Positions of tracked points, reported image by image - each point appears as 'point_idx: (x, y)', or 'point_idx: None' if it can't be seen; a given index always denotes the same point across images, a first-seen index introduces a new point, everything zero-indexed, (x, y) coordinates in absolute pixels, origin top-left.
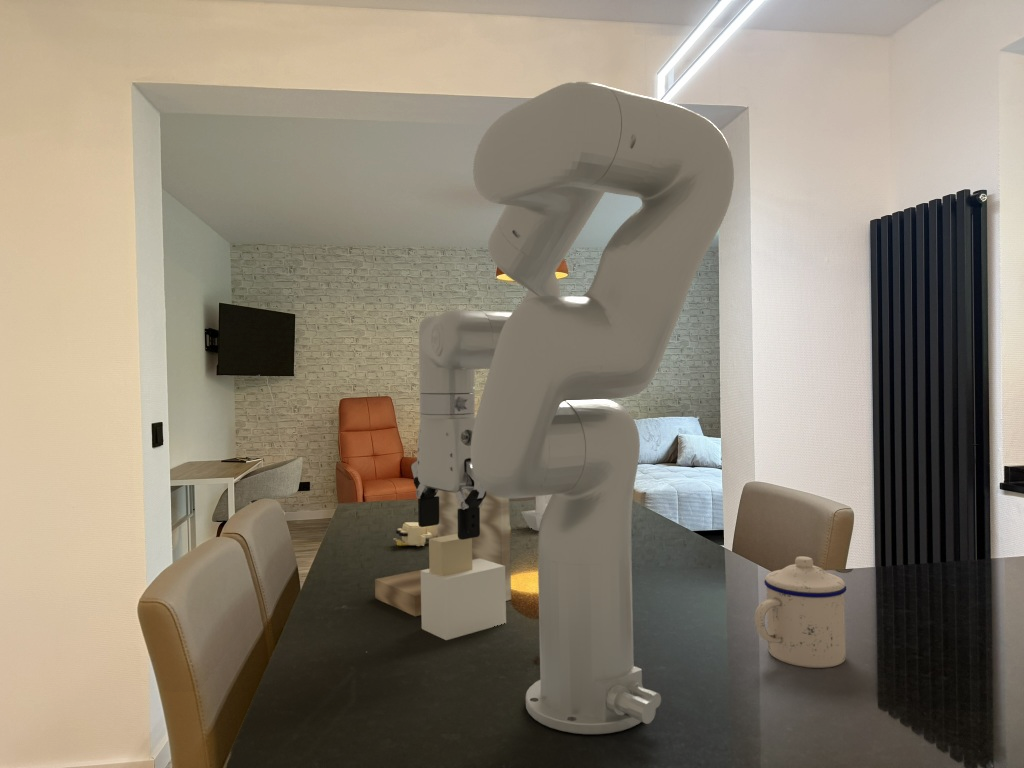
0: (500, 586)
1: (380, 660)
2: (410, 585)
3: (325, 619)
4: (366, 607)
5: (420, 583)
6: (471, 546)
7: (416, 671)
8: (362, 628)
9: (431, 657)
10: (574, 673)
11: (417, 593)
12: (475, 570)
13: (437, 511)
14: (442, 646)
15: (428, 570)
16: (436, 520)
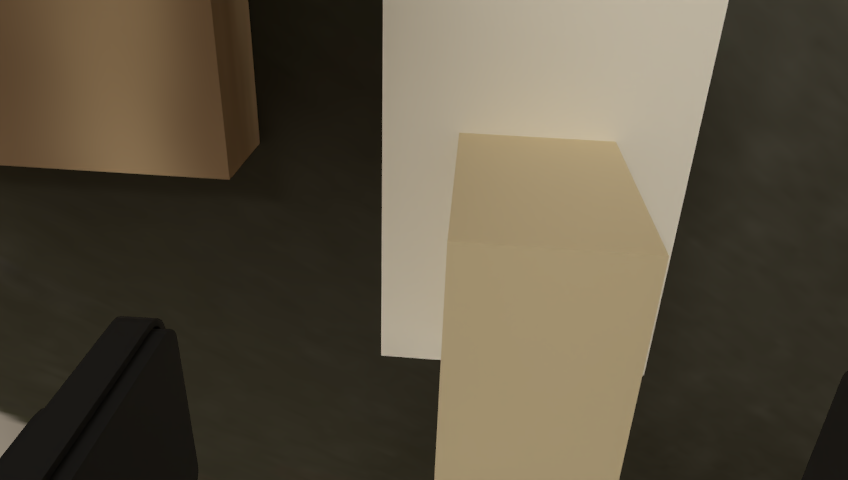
0: None
1: None
2: (38, 89)
3: None
4: (19, 213)
5: (27, 25)
6: (650, 220)
7: (733, 428)
8: (260, 344)
9: (685, 345)
10: None
11: (201, 148)
12: (651, 142)
13: (118, 434)
14: None
15: (413, 328)
16: (164, 376)
